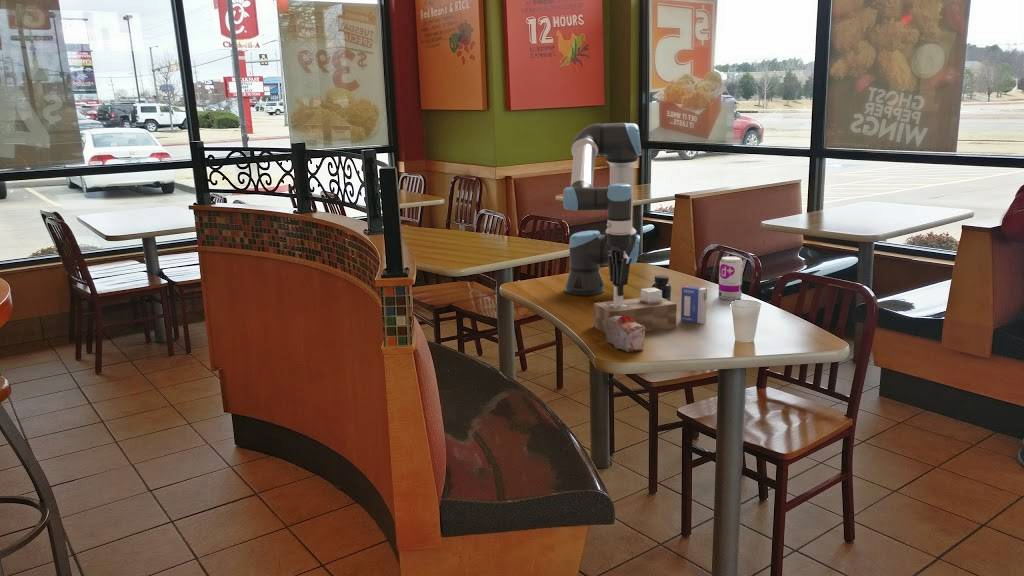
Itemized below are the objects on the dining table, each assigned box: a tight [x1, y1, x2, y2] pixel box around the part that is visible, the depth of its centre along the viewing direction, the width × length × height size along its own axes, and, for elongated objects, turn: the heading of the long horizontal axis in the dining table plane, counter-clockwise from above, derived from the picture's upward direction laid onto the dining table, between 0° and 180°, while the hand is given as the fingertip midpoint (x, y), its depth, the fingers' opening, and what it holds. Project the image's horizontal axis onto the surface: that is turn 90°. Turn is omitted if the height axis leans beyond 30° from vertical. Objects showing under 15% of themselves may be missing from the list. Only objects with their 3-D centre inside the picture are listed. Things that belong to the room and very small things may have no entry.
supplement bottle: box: [651, 274, 672, 302], centre depth 289 cm, size 7×7×12 cm
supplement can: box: [717, 255, 744, 301], centre depth 303 cm, size 8×8×15 cm
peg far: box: [640, 287, 662, 304], centre depth 270 cm, size 5×5×7 cm
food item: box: [605, 315, 646, 353], centre depth 248 cm, size 14×8×10 cm, turn 26°
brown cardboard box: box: [593, 297, 678, 335], centre depth 269 cm, size 12×24×8 cm, turn 110°
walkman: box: [680, 285, 708, 325], centre depth 273 cm, size 8×3×12 cm, turn 56°
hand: (618, 304), depth 266 cm, fingers closed
